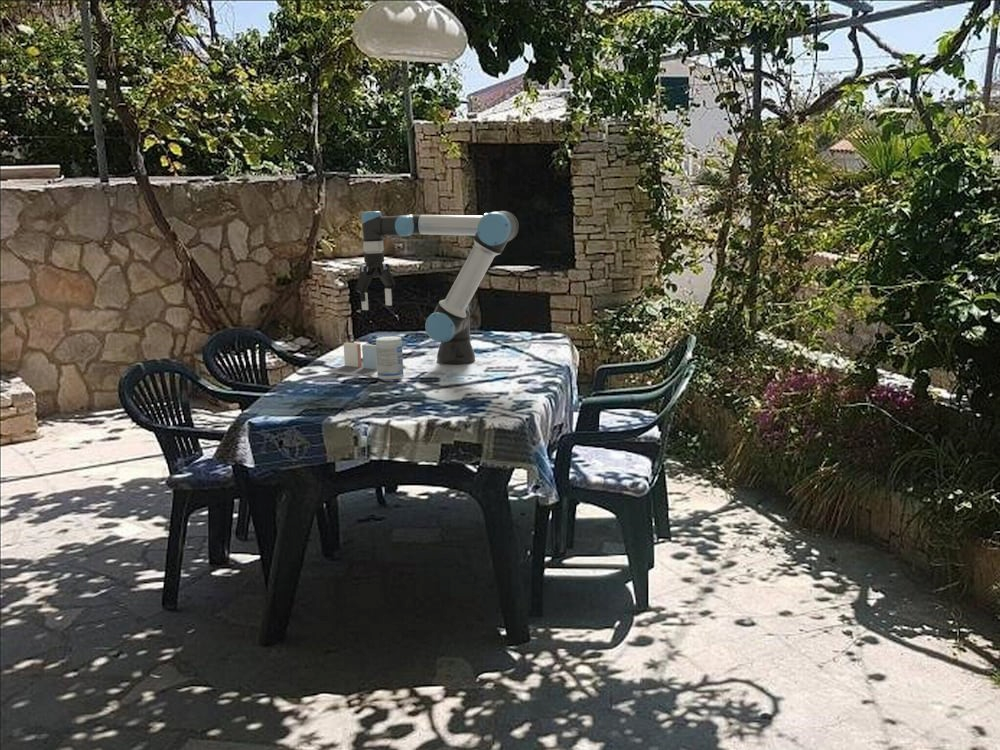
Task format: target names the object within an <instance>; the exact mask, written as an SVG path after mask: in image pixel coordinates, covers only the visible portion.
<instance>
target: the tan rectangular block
mask: <svg viewBox="0 0 1000 750" xmlns="http://www.w3.org/2000/svg"><path fill="white" fill-rule="evenodd" d="M361 350H362V351H361V355H362V361H363V368H367V369H375V370H376V371H377V358H376V344H367V343H365V344H361Z"/></svg>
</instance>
